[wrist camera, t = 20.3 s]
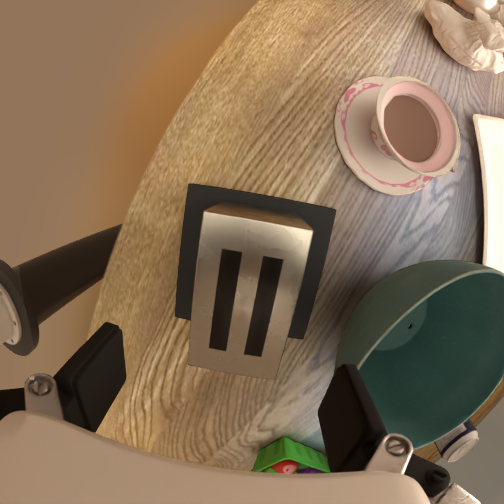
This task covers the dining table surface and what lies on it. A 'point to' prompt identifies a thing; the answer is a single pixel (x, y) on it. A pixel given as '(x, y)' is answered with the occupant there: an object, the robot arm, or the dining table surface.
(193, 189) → the mat
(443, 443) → the beverage can
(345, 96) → the teacup
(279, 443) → the fruit basket
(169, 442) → the dining table surface
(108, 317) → the dining table surface
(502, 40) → the bust
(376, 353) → the plant pot
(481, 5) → the cream glossy round piece
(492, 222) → the plate
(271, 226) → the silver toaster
